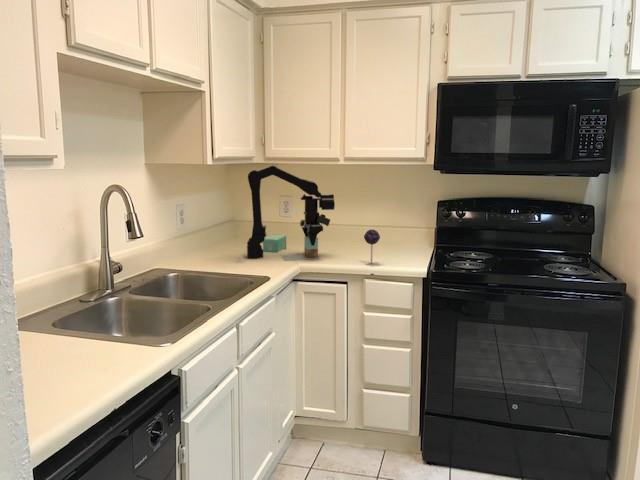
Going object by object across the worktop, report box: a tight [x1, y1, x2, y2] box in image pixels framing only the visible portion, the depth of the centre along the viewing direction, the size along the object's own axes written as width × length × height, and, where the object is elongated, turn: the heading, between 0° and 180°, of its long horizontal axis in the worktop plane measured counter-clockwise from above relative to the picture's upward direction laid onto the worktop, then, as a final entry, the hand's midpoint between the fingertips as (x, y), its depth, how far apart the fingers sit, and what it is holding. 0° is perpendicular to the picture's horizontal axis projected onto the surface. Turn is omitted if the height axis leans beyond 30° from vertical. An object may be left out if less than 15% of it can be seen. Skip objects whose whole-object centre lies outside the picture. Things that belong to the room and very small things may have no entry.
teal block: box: [303, 235, 319, 250], centre depth 240 cm, size 5×5×5 cm
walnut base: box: [304, 247, 319, 258], centre depth 241 cm, size 5×5×4 cm
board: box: [280, 253, 321, 262], centre depth 240 cm, size 16×12×1 cm
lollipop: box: [363, 229, 381, 265], centre depth 231 cm, size 7×7×15 cm
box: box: [262, 234, 287, 253], centre depth 257 cm, size 7×14×8 cm, turn 164°
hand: (311, 244), depth 240 cm, fingers open, 6 cm apart
